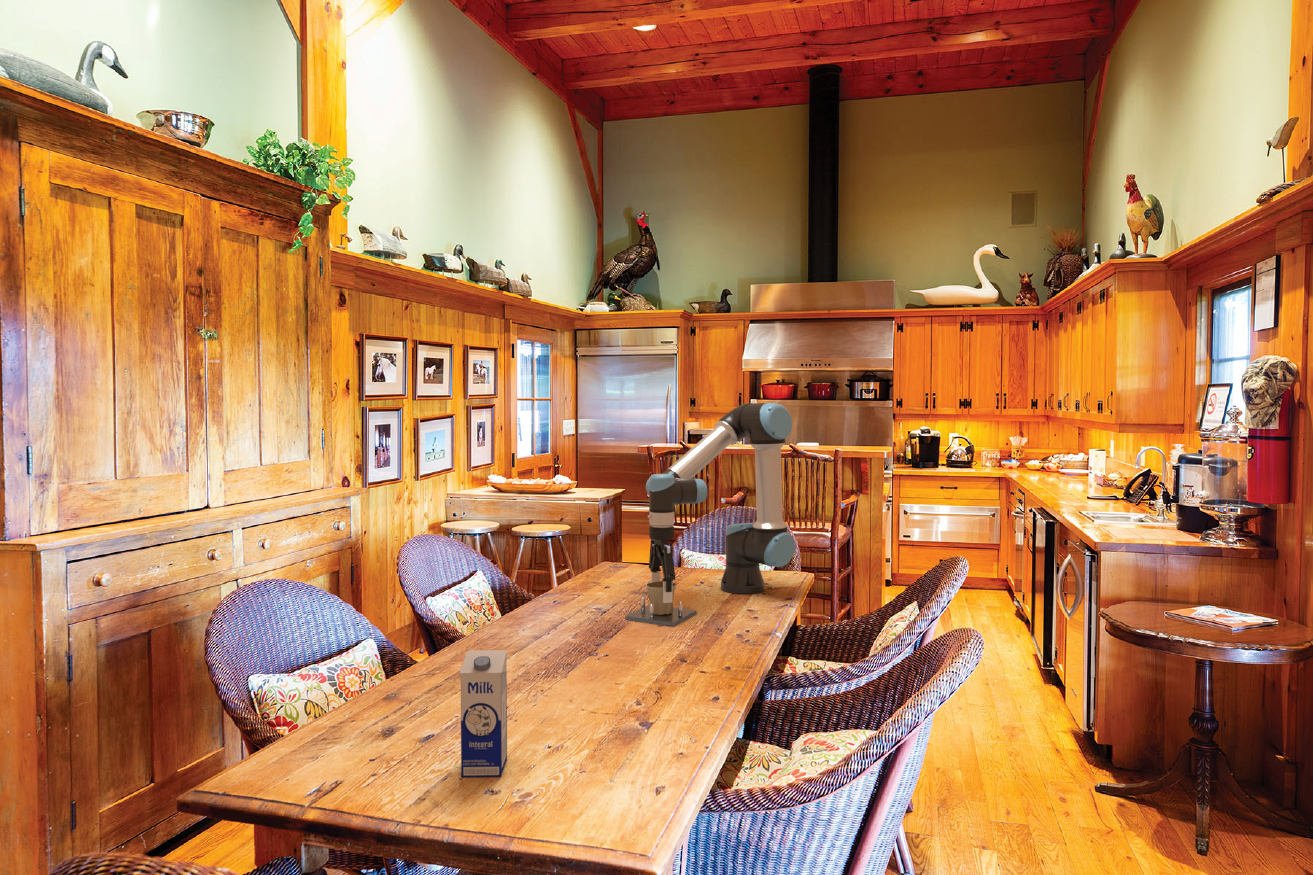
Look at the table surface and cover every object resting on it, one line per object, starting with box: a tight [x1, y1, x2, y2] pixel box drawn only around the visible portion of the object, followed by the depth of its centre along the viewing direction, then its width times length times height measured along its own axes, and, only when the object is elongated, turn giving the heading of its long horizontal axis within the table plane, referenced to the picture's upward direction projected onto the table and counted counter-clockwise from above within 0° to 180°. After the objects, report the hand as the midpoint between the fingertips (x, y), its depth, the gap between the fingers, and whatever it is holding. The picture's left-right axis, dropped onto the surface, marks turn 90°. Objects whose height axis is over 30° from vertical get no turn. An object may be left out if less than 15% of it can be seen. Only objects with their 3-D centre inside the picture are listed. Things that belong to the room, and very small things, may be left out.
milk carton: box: [459, 649, 508, 778], centre depth 138 cm, size 7×7×20 cm
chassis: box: [624, 596, 698, 628], centre depth 239 cm, size 16×16×5 cm
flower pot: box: [645, 580, 677, 615], centre depth 239 cm, size 9×9×9 cm
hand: (661, 597), depth 239 cm, fingers open, 11 cm apart
